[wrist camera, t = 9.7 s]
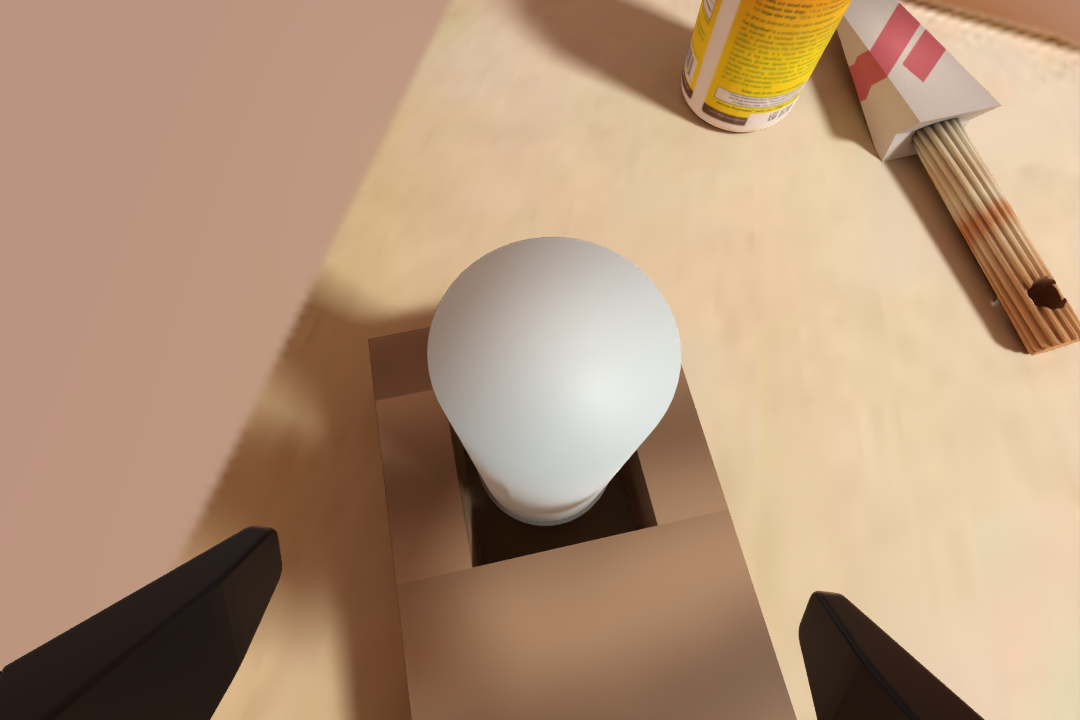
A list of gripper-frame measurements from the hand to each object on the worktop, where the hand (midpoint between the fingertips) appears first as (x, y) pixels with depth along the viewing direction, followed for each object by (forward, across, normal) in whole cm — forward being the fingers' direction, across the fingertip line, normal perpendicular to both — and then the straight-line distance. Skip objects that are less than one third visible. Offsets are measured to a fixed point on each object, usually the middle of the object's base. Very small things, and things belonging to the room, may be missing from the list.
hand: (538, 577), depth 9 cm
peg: (+10, 0, +5) cm, 11 cm away
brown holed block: (+7, -1, +8) cm, 11 cm away
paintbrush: (+22, -16, -6) cm, 28 cm away
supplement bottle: (+24, -7, -9) cm, 26 cm away
